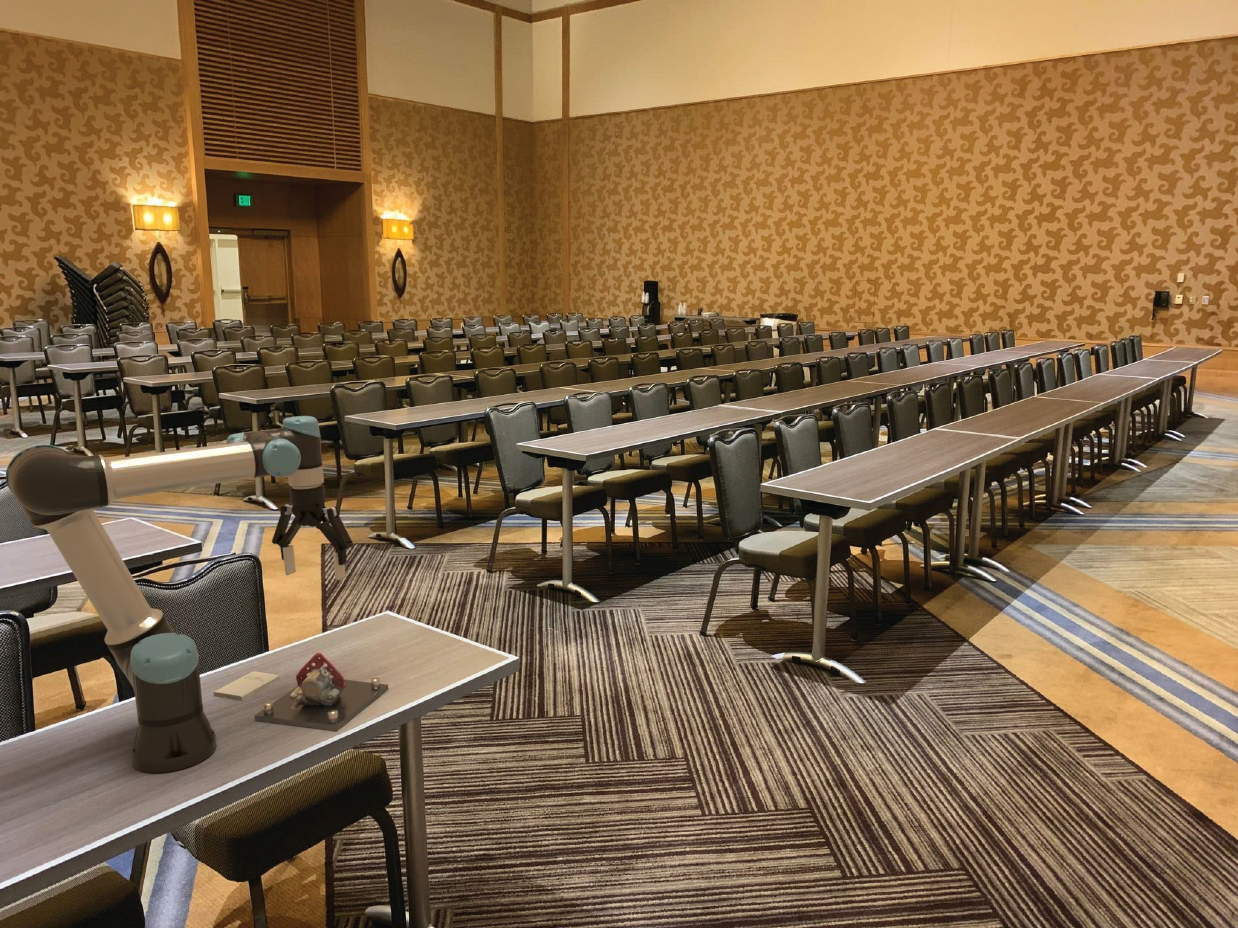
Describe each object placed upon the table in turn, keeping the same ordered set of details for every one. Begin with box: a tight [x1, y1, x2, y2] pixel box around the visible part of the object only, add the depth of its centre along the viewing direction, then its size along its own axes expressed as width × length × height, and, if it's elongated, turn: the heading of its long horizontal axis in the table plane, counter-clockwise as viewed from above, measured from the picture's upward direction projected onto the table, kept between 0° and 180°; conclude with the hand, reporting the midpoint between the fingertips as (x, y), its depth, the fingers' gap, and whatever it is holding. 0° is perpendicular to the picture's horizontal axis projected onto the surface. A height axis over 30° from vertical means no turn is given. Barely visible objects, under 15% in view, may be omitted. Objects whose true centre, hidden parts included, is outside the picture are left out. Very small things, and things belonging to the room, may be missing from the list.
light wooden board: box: [213, 670, 280, 701], centre depth 212 cm, size 2×8×12 cm
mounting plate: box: [254, 671, 389, 732], centre depth 202 cm, size 20×21×3 cm
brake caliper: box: [289, 652, 346, 709], centre depth 200 cm, size 11×11×12 cm
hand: (315, 576), depth 208 cm, fingers open, 13 cm apart
